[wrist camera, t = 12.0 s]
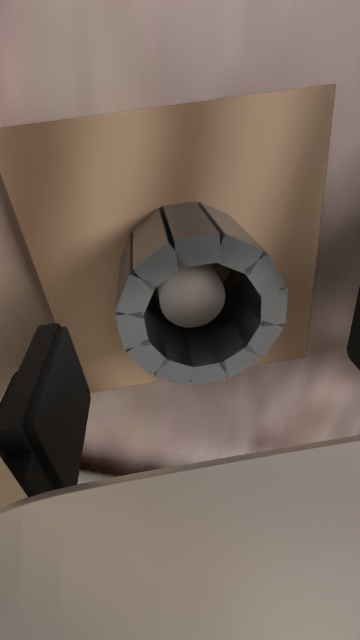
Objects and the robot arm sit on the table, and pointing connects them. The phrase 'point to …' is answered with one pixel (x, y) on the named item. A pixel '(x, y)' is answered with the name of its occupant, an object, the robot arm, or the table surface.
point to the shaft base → (165, 189)
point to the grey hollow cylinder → (238, 310)
